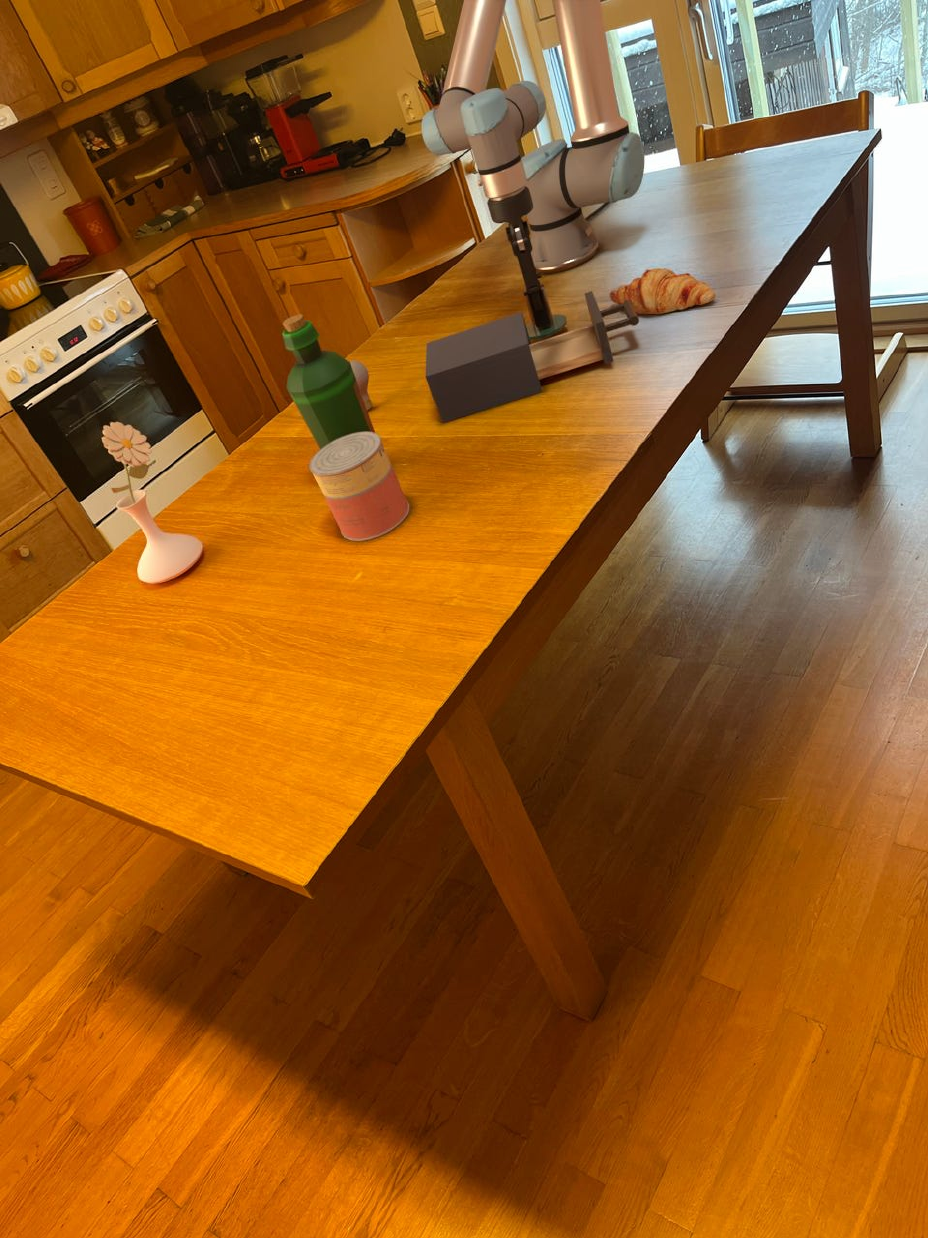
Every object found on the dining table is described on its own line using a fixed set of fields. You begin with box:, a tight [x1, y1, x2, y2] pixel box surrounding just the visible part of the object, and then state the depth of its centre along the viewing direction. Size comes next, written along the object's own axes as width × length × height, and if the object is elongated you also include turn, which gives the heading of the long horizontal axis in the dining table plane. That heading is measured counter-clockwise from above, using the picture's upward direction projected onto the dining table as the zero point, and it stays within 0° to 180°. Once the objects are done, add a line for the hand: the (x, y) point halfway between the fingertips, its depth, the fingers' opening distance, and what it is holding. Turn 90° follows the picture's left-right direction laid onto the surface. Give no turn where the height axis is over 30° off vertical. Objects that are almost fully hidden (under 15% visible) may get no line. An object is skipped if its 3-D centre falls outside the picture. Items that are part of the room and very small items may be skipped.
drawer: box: [529, 290, 640, 381], centre depth 155 cm, size 24×15×7 cm, turn 90°
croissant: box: [609, 267, 716, 315], centre depth 163 cm, size 21×10×8 cm, turn 52°
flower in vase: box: [101, 421, 204, 585], centre depth 141 cm, size 13×11×25 cm
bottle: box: [282, 313, 376, 450], centre depth 143 cm, size 11×11×28 cm
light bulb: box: [348, 360, 373, 412], centre depth 169 cm, size 6×6×10 cm
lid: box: [523, 284, 568, 340], centre depth 167 cm, size 9×9×8 cm
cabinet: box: [425, 311, 543, 424], centre depth 158 cm, size 18×15×9 cm
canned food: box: [308, 432, 410, 542], centre depth 135 cm, size 11×11×12 cm
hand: (542, 319), depth 168 cm, fingers closed on lid, 4 cm apart
